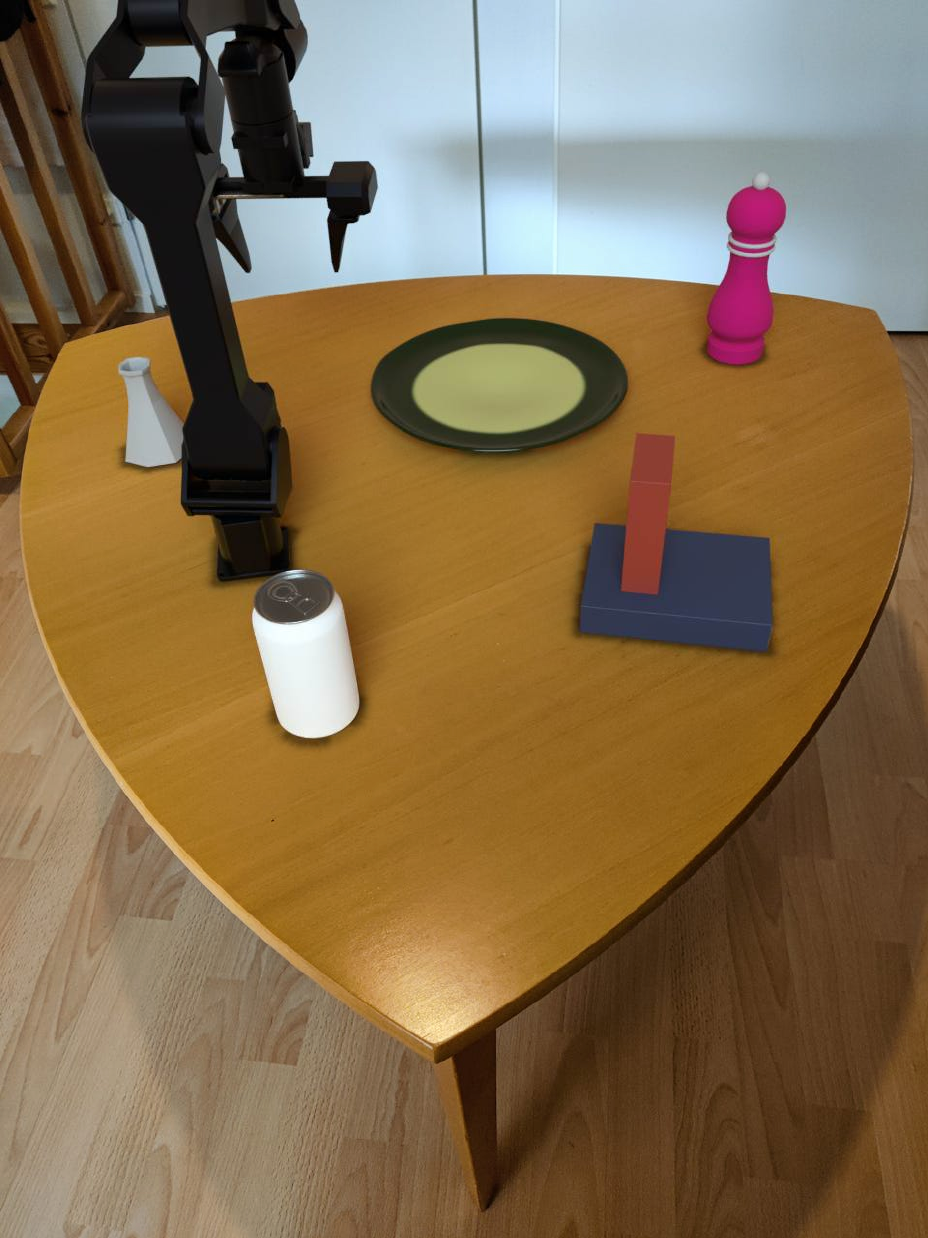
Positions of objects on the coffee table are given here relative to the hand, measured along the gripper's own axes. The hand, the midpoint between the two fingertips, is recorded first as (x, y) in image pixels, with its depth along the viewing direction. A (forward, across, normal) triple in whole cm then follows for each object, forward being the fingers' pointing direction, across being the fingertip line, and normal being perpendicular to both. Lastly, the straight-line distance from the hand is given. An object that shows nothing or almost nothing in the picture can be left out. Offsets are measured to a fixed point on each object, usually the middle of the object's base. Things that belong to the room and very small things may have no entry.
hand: (292, 270), depth 102 cm
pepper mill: (+16, -47, -9) cm, 51 cm away
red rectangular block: (+8, -35, +33) cm, 49 cm away
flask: (+14, +14, +12) cm, 23 cm away
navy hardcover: (+11, -38, +34) cm, 52 cm away
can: (+10, -10, +48) cm, 50 cm away
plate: (+15, -21, +1) cm, 25 cm away
